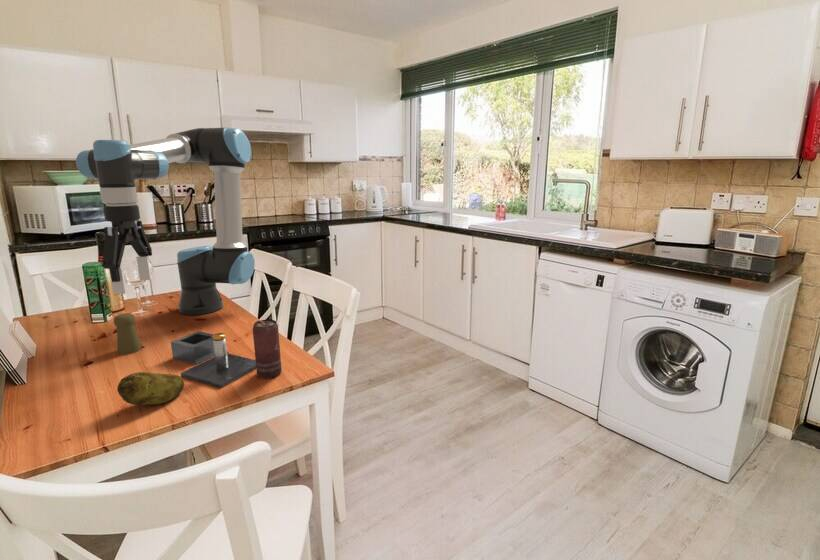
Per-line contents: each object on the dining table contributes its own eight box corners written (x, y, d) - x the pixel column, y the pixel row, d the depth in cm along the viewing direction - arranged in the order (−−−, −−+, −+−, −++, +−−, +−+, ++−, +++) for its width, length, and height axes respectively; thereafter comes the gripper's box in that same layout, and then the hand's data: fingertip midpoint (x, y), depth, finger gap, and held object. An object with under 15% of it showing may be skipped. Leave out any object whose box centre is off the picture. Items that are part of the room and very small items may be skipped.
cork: (130, 355, 125) (123, 318, 122) (112, 353, 126) (105, 317, 124) (146, 346, 131) (140, 311, 128) (129, 345, 132) (123, 310, 129)
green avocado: (188, 402, 101) (183, 370, 99) (121, 419, 94) (115, 385, 92) (184, 387, 107) (179, 357, 105) (121, 402, 101) (115, 370, 99)
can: (268, 366, 119) (264, 317, 115) (286, 371, 116) (282, 321, 112) (251, 375, 113) (246, 324, 110) (269, 381, 111) (265, 328, 107)
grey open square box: (200, 346, 131) (198, 331, 130) (222, 352, 127) (220, 336, 126) (173, 358, 123) (170, 341, 122) (195, 364, 119) (193, 347, 118)
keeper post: (224, 355, 125) (220, 322, 122) (262, 365, 119) (259, 330, 117) (181, 376, 113) (175, 340, 110) (221, 388, 107) (216, 349, 104)
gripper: (129, 200, 122) (141, 275, 127) (73, 209, 98) (90, 300, 103) (158, 200, 123) (168, 274, 128) (109, 209, 99) (124, 299, 104)
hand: (133, 286), depth 116 cm, fingers open, 13 cm apart
